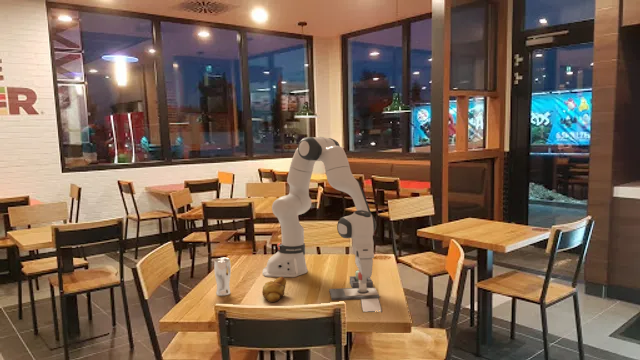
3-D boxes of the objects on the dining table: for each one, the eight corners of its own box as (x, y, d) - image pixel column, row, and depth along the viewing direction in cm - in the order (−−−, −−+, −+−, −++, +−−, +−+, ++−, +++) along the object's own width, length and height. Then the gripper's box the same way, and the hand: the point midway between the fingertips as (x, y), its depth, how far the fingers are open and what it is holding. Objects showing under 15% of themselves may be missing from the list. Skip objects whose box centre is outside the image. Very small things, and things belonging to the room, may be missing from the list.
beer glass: (223, 297, 192) (222, 263, 191) (211, 294, 196) (210, 260, 195) (234, 292, 198) (233, 259, 197) (223, 289, 202) (222, 256, 200)
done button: (356, 282, 202) (356, 273, 202) (354, 278, 207) (354, 270, 207) (367, 281, 203) (367, 273, 202) (365, 278, 208) (365, 269, 207)
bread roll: (281, 304, 184) (280, 285, 184) (257, 303, 186) (257, 284, 185) (287, 293, 197) (287, 275, 196) (265, 292, 198) (265, 274, 198)
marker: (359, 292, 192) (358, 274, 192) (358, 290, 196) (357, 272, 195) (367, 292, 193) (366, 273, 192) (366, 289, 196) (365, 271, 195)
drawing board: (331, 300, 188) (331, 297, 188) (329, 291, 199) (329, 288, 199) (379, 298, 189) (379, 295, 189) (374, 289, 200) (374, 286, 200)
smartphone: (360, 298, 191) (362, 313, 175) (360, 297, 191) (362, 312, 175) (378, 298, 191) (382, 313, 175) (378, 297, 190) (382, 312, 175)
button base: (352, 289, 201) (352, 282, 200) (349, 282, 210) (349, 276, 209) (372, 288, 201) (372, 282, 201) (369, 282, 210) (369, 275, 210)
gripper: (351, 243, 202) (352, 273, 204) (359, 255, 182) (359, 289, 184) (365, 243, 203) (365, 273, 204) (375, 255, 183) (374, 288, 184)
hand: (363, 280), depth 194 cm, fingers open, 4 cm apart
